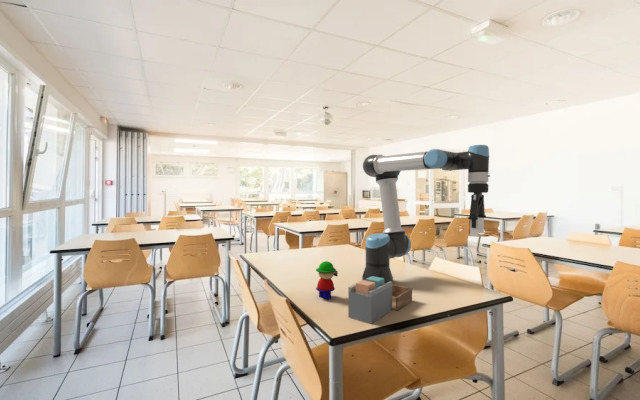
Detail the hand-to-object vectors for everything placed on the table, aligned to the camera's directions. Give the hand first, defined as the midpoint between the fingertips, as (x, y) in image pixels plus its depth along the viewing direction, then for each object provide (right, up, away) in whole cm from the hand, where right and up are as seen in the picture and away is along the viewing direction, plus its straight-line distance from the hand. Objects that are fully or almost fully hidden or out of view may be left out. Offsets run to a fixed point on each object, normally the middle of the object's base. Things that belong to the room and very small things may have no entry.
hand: (477, 234), depth 125 cm
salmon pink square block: (-49, -18, -19) cm, 55 cm away
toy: (-62, -27, +2) cm, 68 cm away
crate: (-37, -27, -4) cm, 46 cm away
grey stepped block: (-47, -27, -15) cm, 56 cm away
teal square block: (-45, -18, -13) cm, 50 cm away
